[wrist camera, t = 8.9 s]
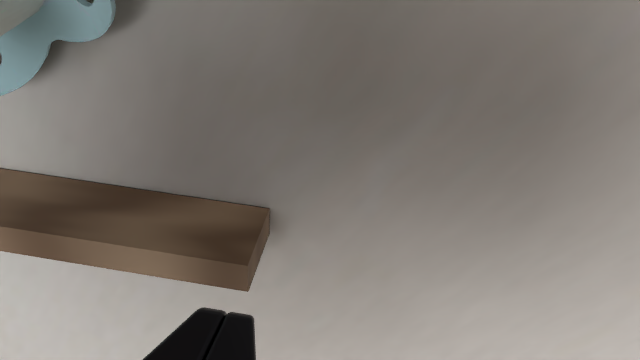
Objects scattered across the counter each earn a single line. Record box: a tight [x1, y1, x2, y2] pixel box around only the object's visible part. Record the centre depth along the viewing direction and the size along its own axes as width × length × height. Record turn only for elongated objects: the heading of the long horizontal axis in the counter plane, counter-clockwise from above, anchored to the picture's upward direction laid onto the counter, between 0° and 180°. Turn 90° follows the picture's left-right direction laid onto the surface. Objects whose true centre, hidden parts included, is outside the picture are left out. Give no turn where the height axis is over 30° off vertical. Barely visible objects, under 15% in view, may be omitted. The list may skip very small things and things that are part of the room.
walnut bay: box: [0, 169, 269, 292], centre depth 17 cm, size 15×16×3 cm
